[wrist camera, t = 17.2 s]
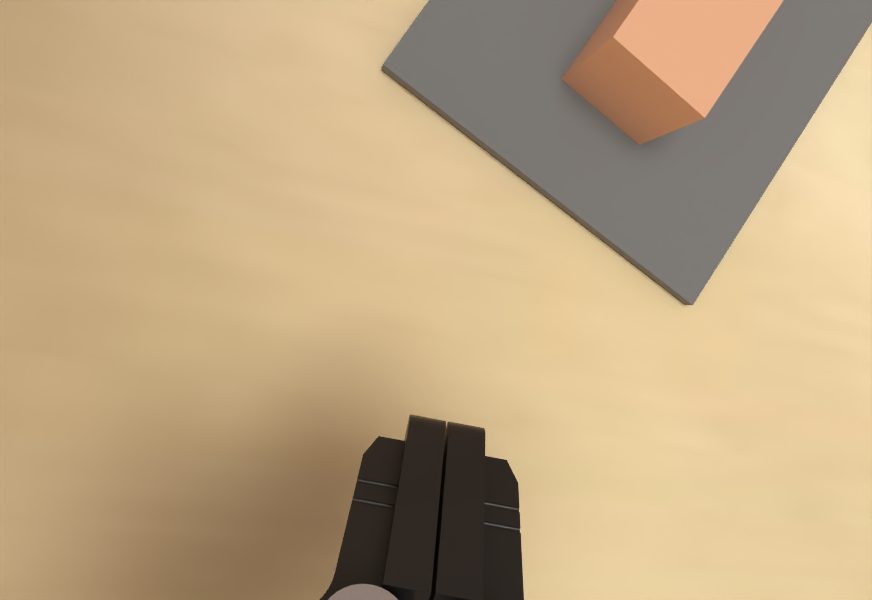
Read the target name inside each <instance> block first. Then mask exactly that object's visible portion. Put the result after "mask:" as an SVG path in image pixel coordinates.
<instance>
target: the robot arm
mask: <svg viewBox="0 0 872 600" xmlns="http://www.w3.org/2000/svg"><path fill="white" fill-rule="evenodd" d="M320 600H524V594H523V574H522V553H521V533H520V512H519V491H518V482H517V480H516V478H515V476H514V474H513V472H512V470H511V468H510V466H509V464H508V462H507V460H503V459H498V458H493V457H487V456H485V429H484V428H480V427H475V426H469V425H464V424H459V423H453V422H448V423H447V426H446V421H442V420H437V419H431V418H426V417H421V416H415V415H410V417H409V421H408V426H407V430H406V435H405V440H404V441H401V440H396V439H391V438H385V437H380V436H379V437H378V438H377V439H376V440H375V441H374V442H373V444H372V445H371V446H370V447H369V448H368V450H367V451H366V452H365V453H364V454H363V458H362V462H361V466H360V470H359V475H358V479H357V483H356V487H355V491H354V495H353V500H352V504H351V508H350V512H349V516H348V521H347V525H346V529H345V533H344V537H343V542H342V546H341V550H340V554H339V558H338V563H337V567H336V571H335V575H334V578H333V581H332V583H331V585H330V587H329V589H328V590H327V592H326V593H325V594H324V596H323V597H322V598H321V599H320Z"/></svg>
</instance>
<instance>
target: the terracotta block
mask: <svg viewBox="0 0 872 600" xmlns="http://www.w3.org/2000/svg"><path fill="white" fill-rule="evenodd" d="M783 1H784V0H616V2H615V3H614V5H613V6H612V7H611V9H610V10H609V12H608V13H607V15H606V16H605V17H604V19H603V20H602V22H601V23H600V24H599V26H598V27H597V29H596V30H595V32H594V33H593V34H592V36H591V37H590V39H589V40H588V42H587V43H586V44H585V46H584V47H583V49H582V50H581V52H580V53H579V54H578V56H577V57H576V59H575V60H574V62H573V63H572V64H571V66H570V67H569V69H568V70H567V72H566V73H565V74H564V76H563V77H562V80H563V81H564V82H565V83H566V84H568V85H569V86H570V87H571V88H572V89H574V90H575V91H576V92H577V93H578V94H579V95H581V96H582V97H583V98H584V99H585V100H587V101H588V102H589V103H590V104H591V105H592V106H594V107H595V108H596V109H597V110H598V111H600V112H601V113H602V114H603V115H604V116H606V117H607V118H608V119H609V120H610V121H611V122H613V123H614V124H615V125H616V126H617V127H619V128H620V129H621V130H622V131H623V132H624V133H626V134H627V135H628V136H629V137H630V138H632V139H633V140H634V141H635V142H636V143H637V144H639V145H641V144H643V143H646V142H648V141H651V140H653V139H655V138H658V137H660V136H663V135H665V134H667V133H670V132H672V131H675V130H677V129H679V128H682V127H684V126H687V125H689V124H692V123H694V122H696V121H699V120H701V119H704V118H705V117H706V116H707V114H708V113H709V111H710V110H711V108H712V107H713V105H714V104H715V102H716V101H717V99H718V98H719V96H720V95H721V93H722V92H723V90H724V89H725V87H726V86H727V84H728V83H729V81H730V80H731V78H732V77H733V75H734V74H735V72H736V71H737V69H738V68H739V66H740V65H741V63H742V62H743V60H744V59H745V57H746V56H747V54H748V53H749V51H750V50H751V48H752V47H753V45H754V44H755V42H756V41H757V39H758V38H759V36H760V35H761V33H762V32H763V30H764V29H765V27H766V26H767V24H768V23H769V21H770V20H771V18H772V17H773V15H774V14H775V12H776V11H777V10H778V8H779V7H780V5H781V4H782V2H783Z"/></svg>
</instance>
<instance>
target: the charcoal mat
mask: <svg viewBox="0 0 872 600" xmlns="http://www.w3.org/2000/svg"><path fill="white" fill-rule="evenodd" d="M615 2H616V0H429V1H428V3H427V4H426V5H425V7H424V8H423V10H422V11H421V12H420V14H419V15H418V17H417V18H416V19H415V21H414V22H413V24H412V25H411V26H410V28H409V29H408V30H407V32H406V33H405V35H404V36H403V37H402V39H401V40H400V42H399V43H398V44H397V46H396V47H395V49H394V50H393V51H392V53H391V54H390V56H389V57H388V58H387V60H386V61H385V63H384V64H383V66H382V69H381V70H383V71H384V72H385V73H386V74H388V75H389V76H390V77H392V78H393V79H394V80H395V81H397V82H398V83H399V84H401V85H402V86H403V87H404V88H406V89H407V90H408V91H410V92H411V93H412V94H414V95H415V96H416V97H417V98H419V99H420V100H421V101H423V102H424V103H425V104H426V105H428V106H429V107H430V108H432V109H433V110H434V111H435V112H437V113H438V114H439V115H441V116H442V117H443V118H445V119H446V120H447V121H448V122H450V123H451V124H452V125H454V126H455V127H456V128H457V129H459V130H460V131H461V132H463V133H464V134H465V135H467V136H468V137H469V138H470V139H472V140H473V141H474V142H476V143H477V144H478V145H479V146H481V147H482V148H483V149H485V150H486V151H487V152H488V153H490V154H491V155H492V156H494V157H495V158H496V159H498V160H499V161H500V162H501V163H503V164H504V165H505V166H507V167H508V168H509V169H510V170H512V171H513V172H514V173H516V174H517V175H518V176H519V177H521V178H522V179H523V180H525V181H526V182H527V183H529V184H530V185H531V186H532V187H534V188H535V189H536V190H538V191H539V192H540V193H541V194H543V195H544V196H545V197H547V198H548V199H549V200H550V201H552V202H553V203H554V204H556V205H557V206H558V207H560V208H561V209H562V210H563V211H565V212H566V213H567V214H569V215H570V216H571V217H572V218H574V219H575V220H576V221H578V222H579V223H580V224H581V225H583V226H584V227H585V228H587V229H588V230H589V231H591V232H592V233H593V234H594V235H596V236H597V237H598V238H600V239H601V240H602V241H603V242H605V243H606V244H607V245H609V246H610V247H611V248H612V249H614V250H615V251H616V252H618V253H619V254H620V255H622V256H623V257H624V258H625V259H627V260H628V261H629V262H631V263H632V264H633V265H634V266H636V267H637V268H638V269H640V270H641V271H642V272H643V273H645V274H646V275H647V276H649V277H650V278H651V279H653V280H654V281H655V282H656V283H658V284H659V285H660V286H662V287H663V288H664V289H665V290H667V291H668V292H669V293H671V294H672V295H673V296H674V297H676V298H677V299H678V300H680V301H681V302H682V303H684V304H685V305H693V304H694V302H695V301H696V299H697V298H698V296H699V295H700V293H701V291H702V290H703V288H704V287H705V285H706V283H707V282H708V280H709V279H710V277H711V276H712V274H713V272H714V271H715V269H716V268H717V266H718V264H719V263H720V261H721V260H722V258H723V257H724V255H725V253H726V252H727V250H728V249H729V247H730V246H731V244H732V242H733V241H734V239H735V238H736V236H737V234H738V233H739V231H740V230H741V228H742V227H743V225H744V223H745V222H746V220H747V219H748V217H749V216H750V214H751V212H752V211H753V209H754V208H755V206H756V204H757V203H758V201H759V200H760V198H761V197H762V195H763V193H764V192H765V190H766V189H767V187H768V185H769V184H770V182H771V181H772V179H773V178H774V176H775V174H776V173H777V171H778V170H779V168H780V167H781V165H782V163H783V162H784V160H785V159H786V157H787V155H788V154H789V152H790V151H791V149H792V148H793V146H794V144H795V143H796V141H797V140H798V138H799V136H800V135H801V133H802V132H803V130H804V129H805V127H806V125H807V124H808V122H809V121H810V119H811V118H812V116H813V114H814V113H815V111H816V110H817V108H818V106H819V105H820V103H821V102H822V100H823V99H824V97H825V95H826V94H827V92H828V91H829V89H830V87H831V86H832V84H833V83H834V81H835V80H836V78H837V76H838V75H839V73H840V72H841V70H842V69H843V67H844V65H845V64H846V62H847V61H848V59H849V57H850V56H851V54H852V53H853V51H854V50H855V48H856V46H857V45H858V43H859V42H860V40H861V38H862V37H863V35H864V34H865V32H866V31H867V29H868V27H869V26H870V24H871V23H872V0H784V1H783V2H782V4H781V5H780V7H779V8H778V10H777V11H776V12H775V14H774V15H773V17H772V18H771V20H770V21H769V23H768V24H767V26H766V27H765V29H764V30H763V32H762V33H761V35H760V36H759V38H758V39H757V41H756V42H755V44H754V45H753V47H752V48H751V50H750V51H749V53H748V54H747V56H746V57H745V59H744V60H743V62H742V63H741V65H740V66H739V68H738V69H737V71H736V72H735V74H734V75H733V77H732V78H731V80H730V81H729V83H728V84H727V86H726V87H725V89H724V90H723V92H722V93H721V95H720V96H719V98H718V99H717V101H716V102H715V104H714V105H713V107H712V108H711V110H710V111H709V113H708V114H707V116H706V117H705V118H704V119H701V120H699V121H696V122H694V123H692V124H689V125H687V126H684V127H682V128H679V129H677V130H675V131H672V132H670V133H667V134H665V135H663V136H660V137H658V138H655V139H653V140H651V141H648V142H646V143H643V144H641V145H639V144H637V143H636V142H635V141H634V140H633V139H632V138H630V137H629V136H628V135H627V134H626V133H624V132H623V131H622V130H621V129H620V128H619V127H617V126H616V125H615V124H614V123H613V122H611V121H610V120H609V119H608V118H607V117H606V116H604V115H603V114H602V113H601V112H600V111H598V110H597V109H596V108H595V107H594V106H592V105H591V104H590V103H589V102H588V101H587V100H585V99H584V98H583V97H582V96H581V95H579V94H578V93H577V92H576V91H575V90H574V89H572V88H571V87H570V86H569V85H568V84H566V83H565V82H564V81H563V80H562V77H563V76H564V74H565V73H566V72H567V70H568V69H569V67H570V66H571V64H572V63H573V62H574V60H575V59H576V57H577V56H578V54H579V53H580V52H581V50H582V49H583V47H584V46H585V44H586V43H587V42H588V40H589V39H590V37H591V36H592V34H593V33H594V32H595V30H596V29H597V27H598V26H599V24H600V23H601V22H602V20H603V19H604V17H605V16H606V15H607V13H608V12H609V10H610V9H611V7H612V6H613V5H614V3H615Z"/></svg>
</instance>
